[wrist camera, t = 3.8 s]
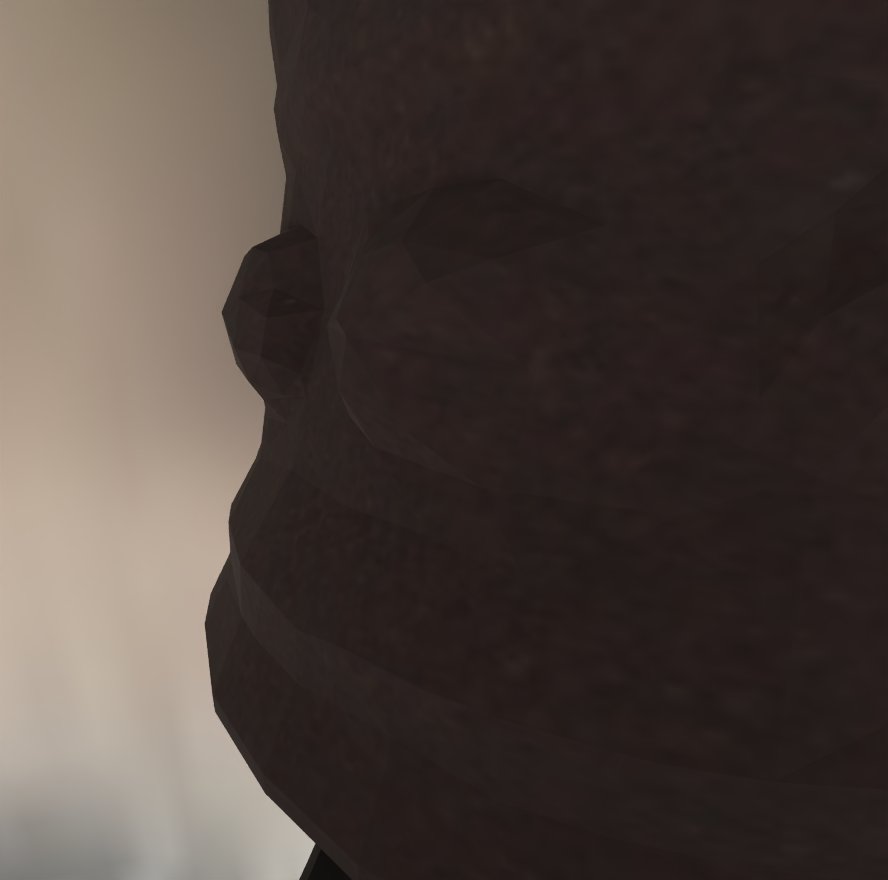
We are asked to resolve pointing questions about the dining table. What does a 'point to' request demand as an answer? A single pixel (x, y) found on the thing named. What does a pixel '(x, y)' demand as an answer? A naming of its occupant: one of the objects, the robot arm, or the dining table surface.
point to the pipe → (569, 442)
